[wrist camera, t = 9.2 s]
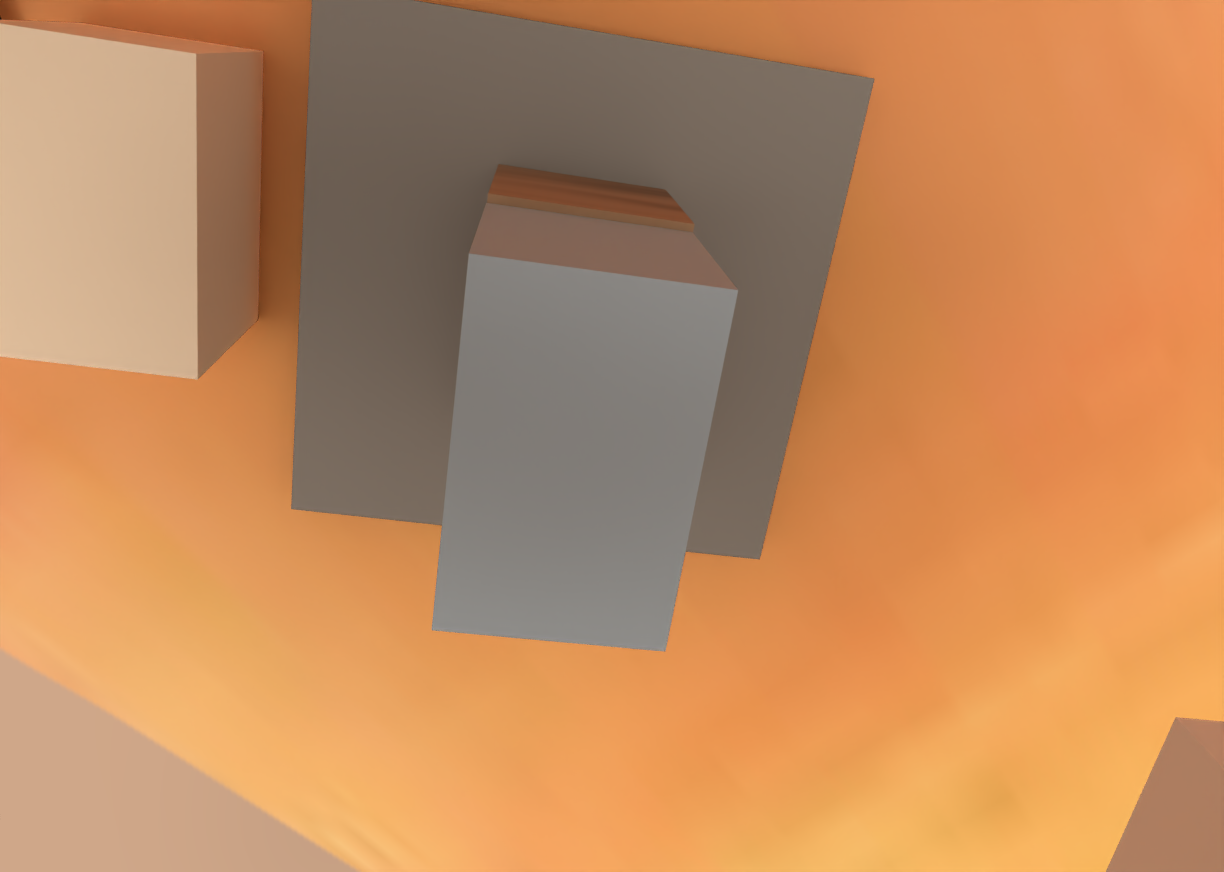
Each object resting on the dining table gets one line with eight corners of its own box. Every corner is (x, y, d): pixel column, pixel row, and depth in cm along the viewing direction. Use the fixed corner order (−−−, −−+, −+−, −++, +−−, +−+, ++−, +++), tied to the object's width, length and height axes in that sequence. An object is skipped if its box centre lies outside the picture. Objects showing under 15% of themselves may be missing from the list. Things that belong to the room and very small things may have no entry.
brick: (82, 22, 28) (-34, 18, 22) (264, 51, 28) (196, 53, 23) (93, 298, 30) (-6, 355, 25) (259, 318, 31) (197, 379, 25)
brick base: (498, 163, 29) (488, 193, 23) (665, 189, 29) (694, 224, 24) (470, 417, 32) (455, 497, 26) (622, 435, 32) (639, 517, 27)
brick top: (486, 202, 23) (468, 253, 18) (692, 231, 24) (738, 290, 18) (455, 504, 26) (431, 629, 20) (639, 524, 27) (665, 651, 21)
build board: (320, -16, 27) (312, -17, 27) (864, 77, 29) (874, 78, 28) (298, 495, 33) (291, 509, 32) (753, 545, 35) (759, 559, 34)
